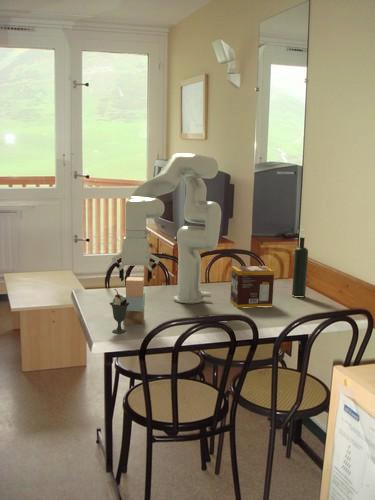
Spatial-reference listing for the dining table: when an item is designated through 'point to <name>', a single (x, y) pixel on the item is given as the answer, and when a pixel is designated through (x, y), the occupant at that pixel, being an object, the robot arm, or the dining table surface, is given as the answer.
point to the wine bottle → (300, 268)
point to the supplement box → (251, 286)
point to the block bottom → (134, 317)
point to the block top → (135, 303)
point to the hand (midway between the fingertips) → (135, 280)
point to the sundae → (119, 311)
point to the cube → (134, 286)
